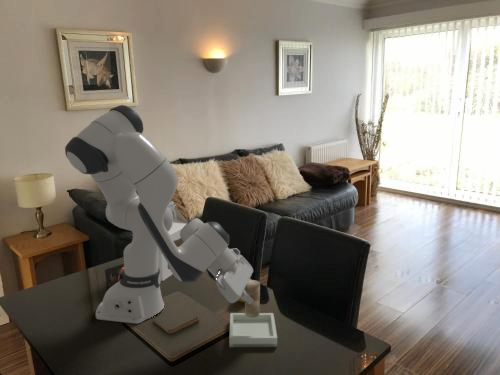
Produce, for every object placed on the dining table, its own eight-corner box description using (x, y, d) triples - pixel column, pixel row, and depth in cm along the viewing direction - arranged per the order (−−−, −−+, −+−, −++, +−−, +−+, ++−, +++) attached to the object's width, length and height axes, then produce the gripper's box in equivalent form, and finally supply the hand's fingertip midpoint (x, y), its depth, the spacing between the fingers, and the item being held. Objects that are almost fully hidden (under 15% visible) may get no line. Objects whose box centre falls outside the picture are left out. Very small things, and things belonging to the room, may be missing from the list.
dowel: (244, 317, 122) (245, 286, 120) (244, 310, 126) (245, 280, 124) (259, 317, 122) (260, 286, 120) (259, 310, 126) (259, 280, 124)
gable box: (162, 281, 161) (159, 213, 155) (134, 276, 166) (131, 209, 159) (191, 261, 181) (190, 200, 175) (166, 256, 186) (164, 197, 180)
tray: (229, 347, 119) (229, 338, 119) (230, 321, 133) (230, 313, 132) (277, 347, 120) (277, 337, 119) (273, 321, 133) (273, 313, 133)
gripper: (220, 271, 112) (255, 308, 112) (238, 246, 132) (267, 277, 132) (205, 285, 114) (239, 321, 114) (224, 258, 133) (253, 288, 133)
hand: (254, 297), depth 123 cm, fingers closed on dowel, 4 cm apart
